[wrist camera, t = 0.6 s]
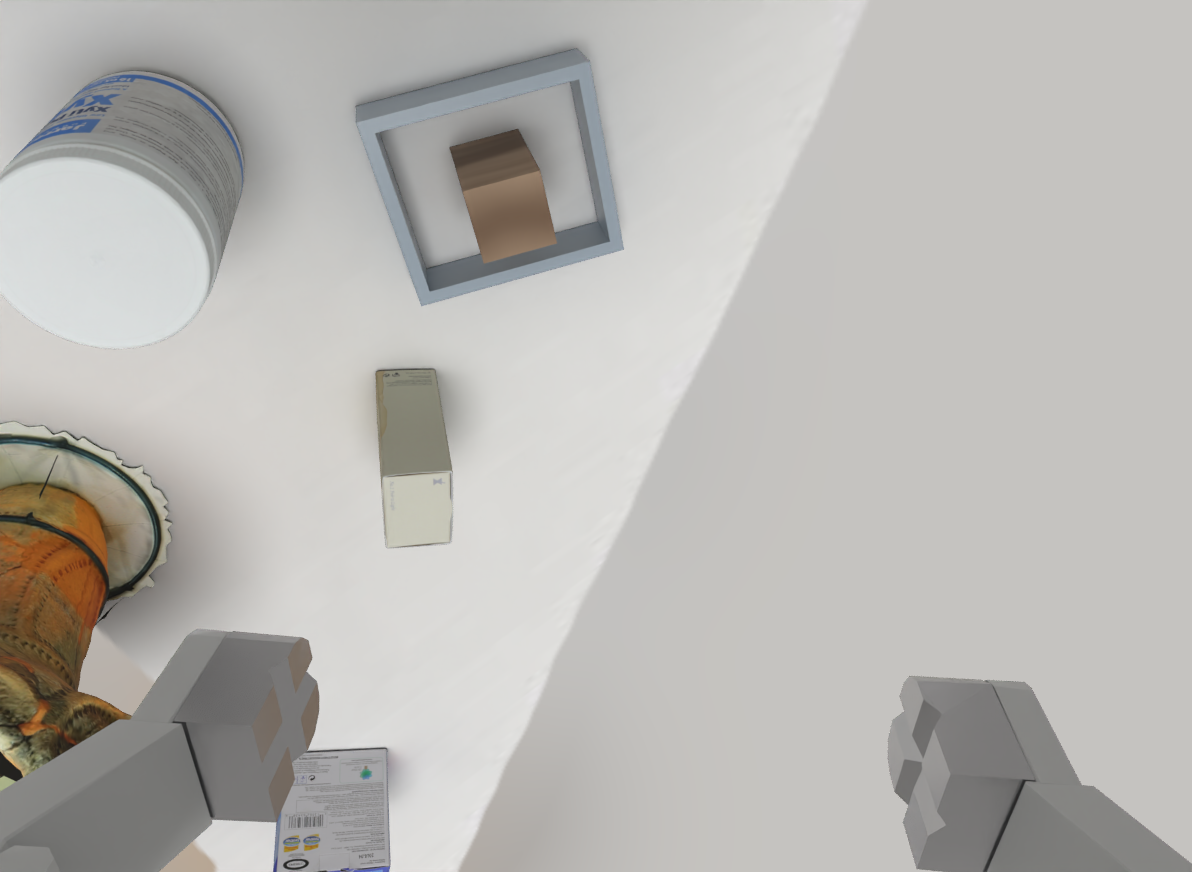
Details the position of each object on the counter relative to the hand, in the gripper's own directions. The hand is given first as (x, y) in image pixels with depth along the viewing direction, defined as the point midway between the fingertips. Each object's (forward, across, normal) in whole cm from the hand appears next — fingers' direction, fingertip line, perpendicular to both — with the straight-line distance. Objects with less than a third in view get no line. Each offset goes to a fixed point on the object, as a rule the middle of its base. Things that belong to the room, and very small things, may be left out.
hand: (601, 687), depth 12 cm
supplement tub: (+41, +28, +3) cm, 50 cm away
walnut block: (+46, +9, +4) cm, 48 cm away
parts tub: (+46, +9, +4) cm, 48 cm away
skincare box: (+46, +16, +21) cm, 53 cm away
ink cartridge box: (+47, +27, +63) cm, 83 cm away
